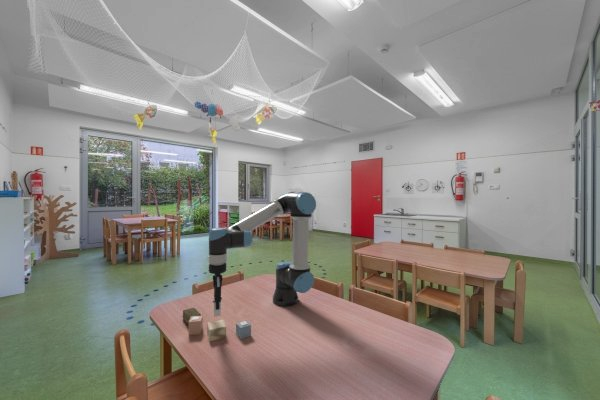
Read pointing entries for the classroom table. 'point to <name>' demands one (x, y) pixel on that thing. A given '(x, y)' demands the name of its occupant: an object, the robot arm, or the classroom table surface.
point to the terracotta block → (195, 325)
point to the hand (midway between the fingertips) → (217, 315)
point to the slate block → (243, 329)
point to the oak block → (216, 330)
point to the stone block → (190, 314)
